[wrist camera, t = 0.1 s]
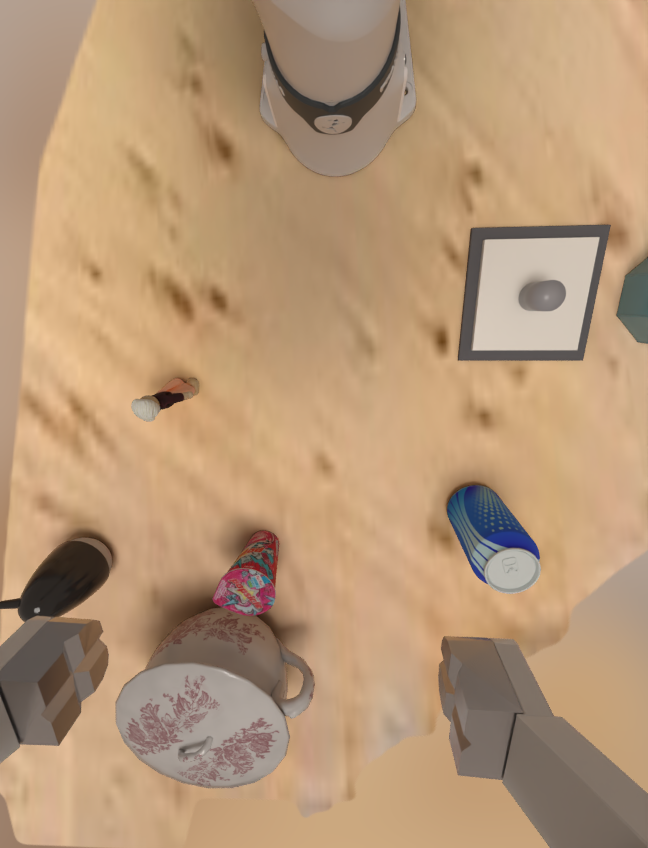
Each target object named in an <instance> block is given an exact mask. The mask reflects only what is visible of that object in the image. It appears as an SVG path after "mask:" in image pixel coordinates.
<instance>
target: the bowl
mask: <svg viewBox="0 0 648 848" xmlns="http://www.w3.org/2000/svg"><path fill="white" fill-rule="evenodd" d="M617 316H618V318H619V319H620V320H621V321H622V323H623V324H624V325H625V326H626V328H627V329H628V330H629V331H630V333H631V334H632V335H633V337H634V338H635V339H636V340H637V342H640V343H648V258H646V259H645V260H644V261H643V262H642V263H640V264H639V265H638V266H637V267H636V268H634V269H633V270H632V271H631V272H630V273H629V274H627V275H626V276H625V281H624V285H623V290H622V294H621V299H620V303H619V308H618V312H617Z"/></svg>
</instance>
